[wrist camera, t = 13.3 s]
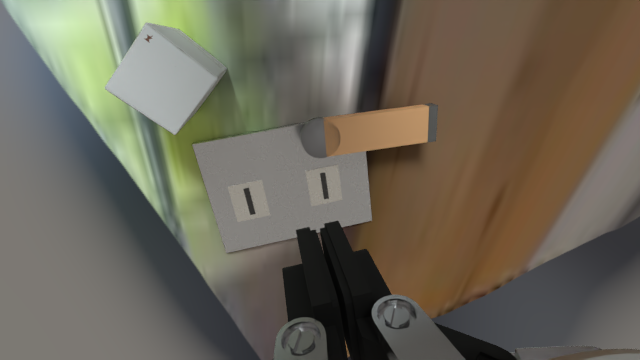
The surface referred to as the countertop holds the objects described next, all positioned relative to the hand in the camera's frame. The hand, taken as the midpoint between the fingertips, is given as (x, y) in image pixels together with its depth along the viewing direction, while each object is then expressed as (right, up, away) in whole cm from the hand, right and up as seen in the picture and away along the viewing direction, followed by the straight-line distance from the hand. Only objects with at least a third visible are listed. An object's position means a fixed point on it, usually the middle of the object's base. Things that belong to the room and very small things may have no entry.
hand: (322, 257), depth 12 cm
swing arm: (+6, +10, +32) cm, 34 cm away
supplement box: (-17, +17, +29) cm, 37 cm away
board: (-5, +2, +37) cm, 37 cm away
